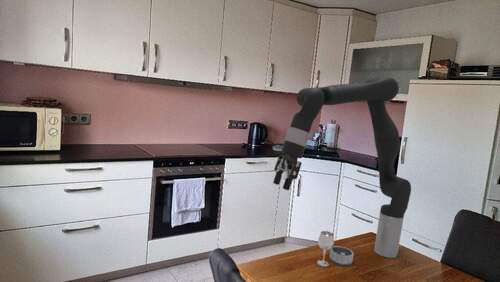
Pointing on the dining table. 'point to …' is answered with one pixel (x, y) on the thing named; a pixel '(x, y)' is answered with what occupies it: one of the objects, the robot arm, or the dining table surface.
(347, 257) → the grey bowl
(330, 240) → the wineglass
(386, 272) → the dining table surface
